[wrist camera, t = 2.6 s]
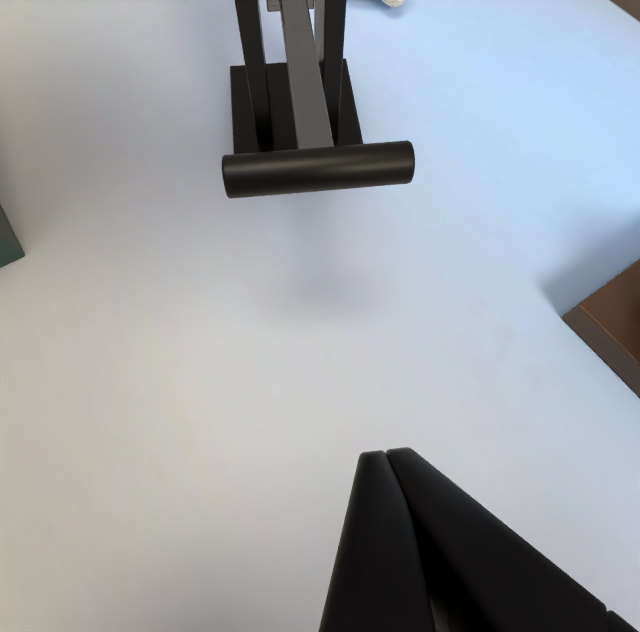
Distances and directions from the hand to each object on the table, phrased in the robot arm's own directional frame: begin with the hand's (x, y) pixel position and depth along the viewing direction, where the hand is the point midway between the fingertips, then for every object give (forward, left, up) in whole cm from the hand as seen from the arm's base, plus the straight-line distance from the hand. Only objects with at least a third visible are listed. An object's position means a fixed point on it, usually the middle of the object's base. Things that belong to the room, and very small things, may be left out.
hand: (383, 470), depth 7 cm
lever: (+14, -8, -5) cm, 17 cm away
